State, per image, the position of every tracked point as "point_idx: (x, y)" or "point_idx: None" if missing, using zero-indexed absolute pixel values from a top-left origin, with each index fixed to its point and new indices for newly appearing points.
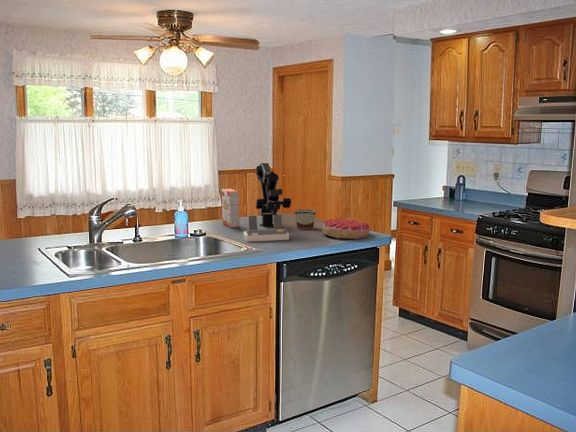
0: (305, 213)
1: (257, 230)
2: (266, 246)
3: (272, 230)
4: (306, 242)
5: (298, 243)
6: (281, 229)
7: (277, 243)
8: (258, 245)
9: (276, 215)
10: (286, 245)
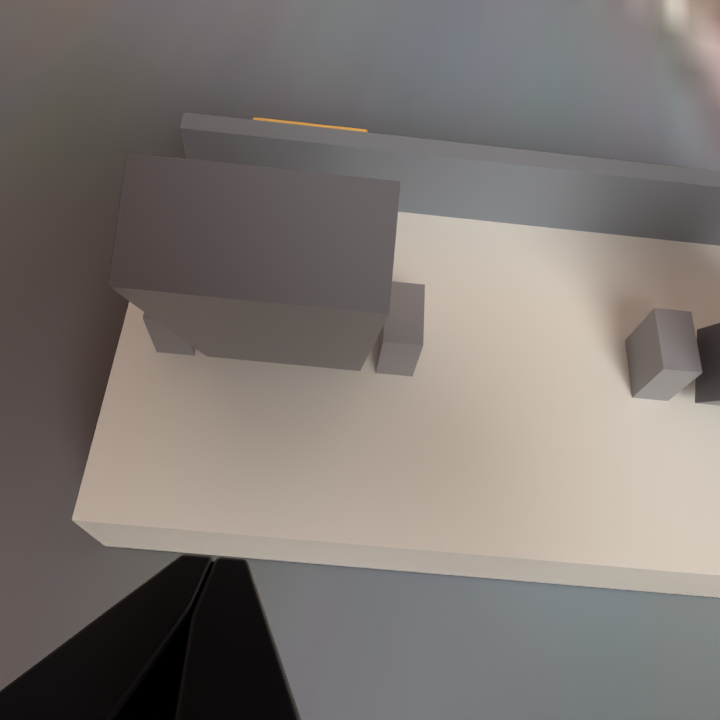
0: None
1: (714, 172)
2: (543, 31)
3: (446, 153)
4: (36, 45)
5: (153, 35)
6: (284, 125)
7: (395, 100)
8: (627, 86)
9: (301, 179)
10: (321, 6)
